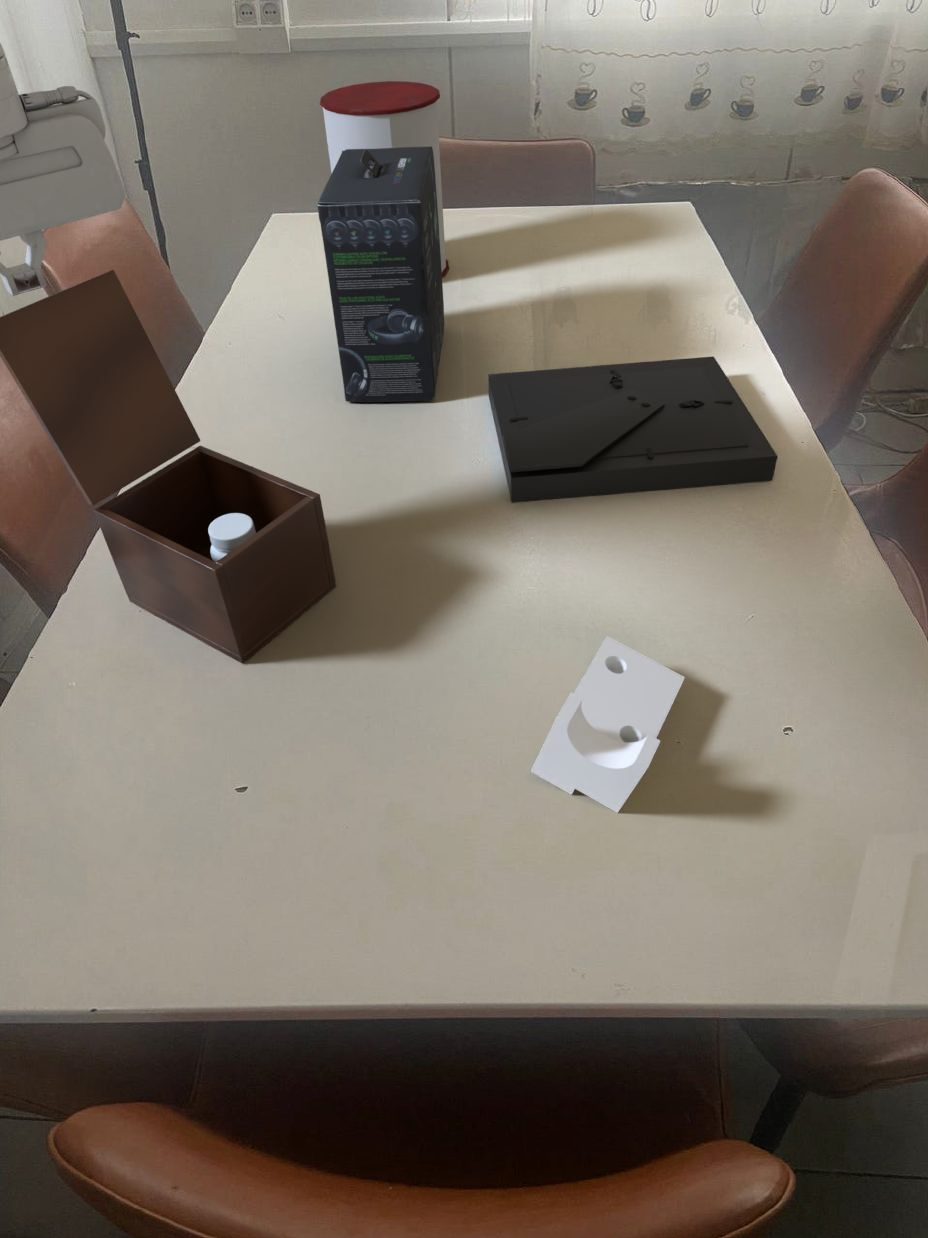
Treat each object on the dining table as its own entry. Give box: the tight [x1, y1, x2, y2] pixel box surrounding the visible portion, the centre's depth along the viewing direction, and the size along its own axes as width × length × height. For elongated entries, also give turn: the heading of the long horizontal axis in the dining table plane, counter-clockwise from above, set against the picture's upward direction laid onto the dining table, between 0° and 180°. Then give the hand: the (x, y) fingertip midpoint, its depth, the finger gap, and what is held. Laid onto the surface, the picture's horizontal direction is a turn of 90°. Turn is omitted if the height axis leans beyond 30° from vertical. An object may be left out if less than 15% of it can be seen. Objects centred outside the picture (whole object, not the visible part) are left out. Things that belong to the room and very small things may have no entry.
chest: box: [93, 445, 337, 664], centre depth 82 cm, size 16×13×11 cm
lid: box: [0, 269, 201, 507], centre depth 78 cm, size 16×13×1 cm
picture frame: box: [487, 356, 779, 503], centre depth 103 cm, size 23×4×28 cm
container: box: [319, 80, 450, 278], centre depth 136 cm, size 17×17×25 cm
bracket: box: [530, 635, 686, 814], centre depth 68 cm, size 13×7×8 cm, turn 152°
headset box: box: [316, 146, 445, 403], centre depth 111 cm, size 22×12×26 cm, turn 178°
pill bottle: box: [208, 513, 256, 562], centre depth 81 cm, size 5×5×8 cm
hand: (27, 289), depth 76 cm, fingers closed
